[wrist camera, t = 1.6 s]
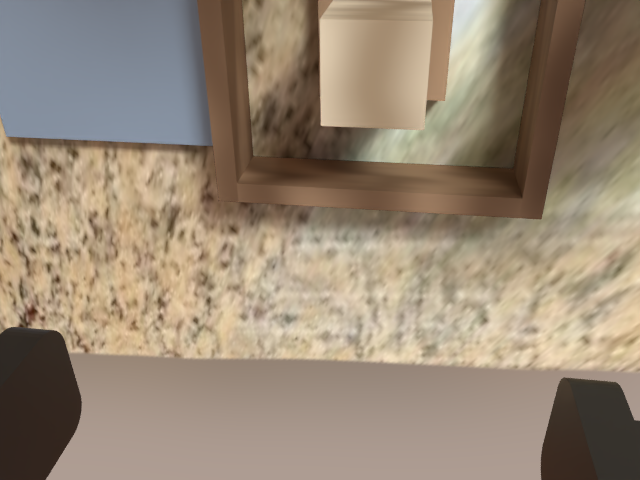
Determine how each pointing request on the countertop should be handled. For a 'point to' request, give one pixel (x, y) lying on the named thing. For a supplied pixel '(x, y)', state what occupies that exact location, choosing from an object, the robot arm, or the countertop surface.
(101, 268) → the countertop surface
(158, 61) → the pad
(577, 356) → the countertop surface
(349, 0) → the maple block
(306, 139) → the countertop surface
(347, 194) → the brown wooden square frame
